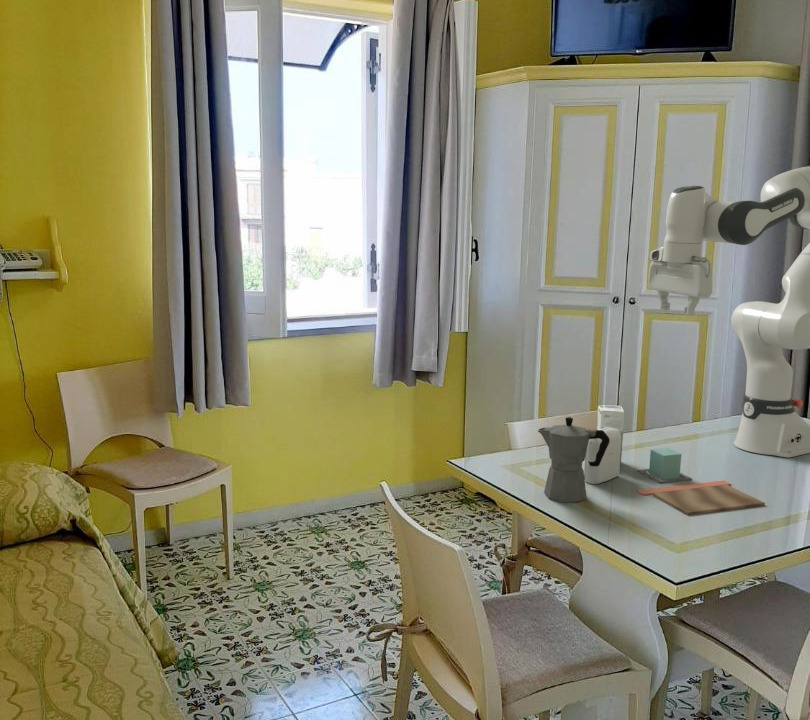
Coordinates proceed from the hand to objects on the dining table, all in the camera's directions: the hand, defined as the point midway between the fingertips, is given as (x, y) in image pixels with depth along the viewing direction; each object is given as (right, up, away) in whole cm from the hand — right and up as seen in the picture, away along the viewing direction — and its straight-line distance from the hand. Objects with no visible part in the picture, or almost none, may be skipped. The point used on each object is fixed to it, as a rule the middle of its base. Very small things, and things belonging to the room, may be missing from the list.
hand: (676, 312), depth 194 cm
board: (+1, -42, -18) cm, 46 cm away
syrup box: (-15, -38, +7) cm, 41 cm away
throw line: (-2, -41, -10) cm, 42 cm away
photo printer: (-19, -40, -5) cm, 45 cm away
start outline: (-4, -39, -2) cm, 39 cm away
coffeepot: (-29, -42, -16) cm, 54 cm away
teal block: (-4, -39, -2) cm, 40 cm away
